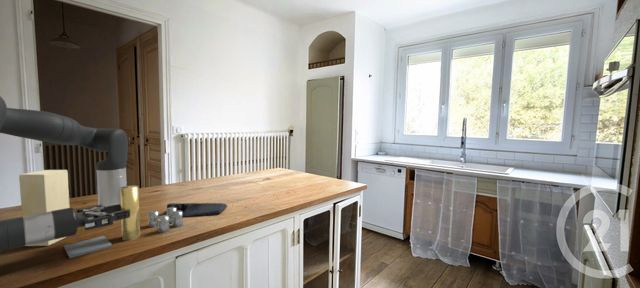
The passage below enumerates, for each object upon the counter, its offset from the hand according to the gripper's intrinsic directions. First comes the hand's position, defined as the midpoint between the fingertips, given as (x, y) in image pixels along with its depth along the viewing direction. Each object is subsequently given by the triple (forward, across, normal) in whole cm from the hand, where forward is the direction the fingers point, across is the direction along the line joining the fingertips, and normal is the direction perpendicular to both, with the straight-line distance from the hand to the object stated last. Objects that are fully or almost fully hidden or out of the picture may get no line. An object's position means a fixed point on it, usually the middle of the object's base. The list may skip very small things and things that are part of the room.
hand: (125, 210), depth 81 cm
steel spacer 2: (+10, -2, +9) cm, 13 cm away
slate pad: (-9, +1, +9) cm, 13 cm away
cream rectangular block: (-16, +16, +9) cm, 24 cm away
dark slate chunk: (+26, +9, +10) cm, 30 cm away
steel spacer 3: (+14, +4, +9) cm, 18 cm away
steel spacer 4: (+15, -1, +9) cm, 17 cm away
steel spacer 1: (+9, +5, +9) cm, 14 cm away
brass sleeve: (+1, 0, +9) cm, 9 cm away
